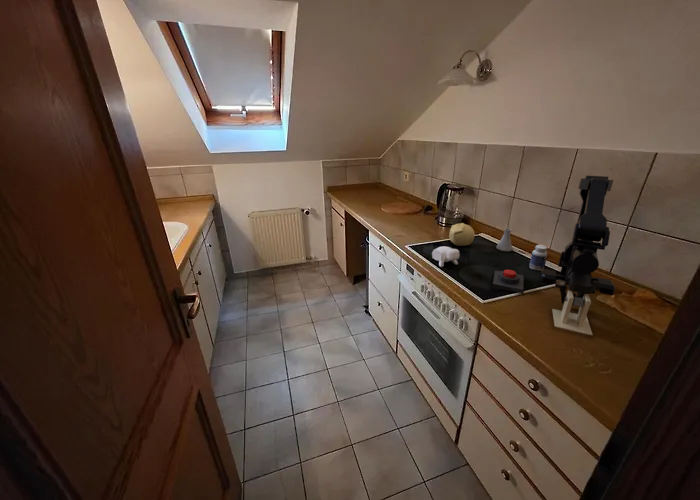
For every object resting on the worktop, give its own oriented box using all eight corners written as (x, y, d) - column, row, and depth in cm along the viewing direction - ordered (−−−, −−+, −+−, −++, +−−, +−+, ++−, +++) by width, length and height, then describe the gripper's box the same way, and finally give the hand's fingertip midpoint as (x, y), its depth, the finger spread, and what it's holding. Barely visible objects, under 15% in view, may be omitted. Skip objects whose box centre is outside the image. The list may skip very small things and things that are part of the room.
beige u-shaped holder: (551, 311, 97) (559, 284, 93) (585, 318, 93) (595, 291, 89) (554, 328, 89) (562, 300, 85) (591, 337, 85) (602, 308, 81)
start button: (503, 272, 114) (504, 268, 114) (515, 274, 113) (516, 270, 112) (502, 277, 111) (503, 273, 110) (515, 279, 109) (515, 275, 109)
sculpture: (447, 239, 158) (449, 219, 154) (471, 240, 156) (473, 220, 151) (449, 247, 148) (451, 226, 143) (474, 248, 145) (478, 227, 141)
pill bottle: (544, 272, 121) (549, 250, 118) (528, 269, 124) (533, 247, 120) (543, 266, 126) (548, 245, 122) (529, 264, 128) (533, 243, 124)
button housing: (494, 275, 120) (496, 266, 119) (522, 280, 116) (524, 271, 114) (491, 288, 111) (493, 279, 109) (522, 294, 106) (524, 285, 105)
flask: (493, 249, 144) (497, 229, 140) (499, 244, 149) (502, 225, 145) (509, 253, 140) (513, 233, 136) (514, 248, 144) (518, 228, 141)
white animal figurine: (430, 266, 136) (448, 268, 121) (428, 247, 136) (446, 247, 121) (447, 263, 138) (466, 265, 123) (445, 245, 138) (464, 245, 123)
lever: (562, 299, 99) (564, 290, 99) (574, 302, 97) (576, 292, 97) (570, 305, 87) (573, 295, 87) (584, 308, 86) (586, 297, 85)
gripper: (547, 265, 89) (536, 309, 95) (628, 277, 81) (610, 325, 87) (545, 252, 98) (535, 293, 104) (617, 262, 90) (602, 306, 96)
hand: (568, 304), depth 97 cm, fingers closed on lever, 3 cm apart
